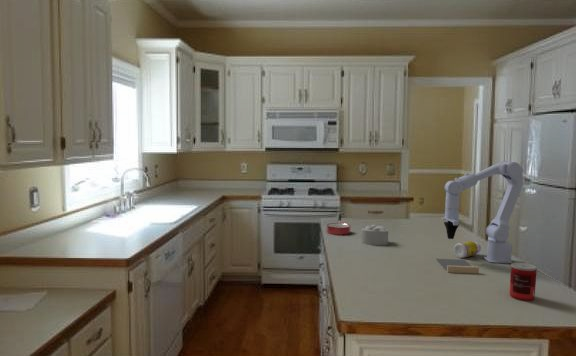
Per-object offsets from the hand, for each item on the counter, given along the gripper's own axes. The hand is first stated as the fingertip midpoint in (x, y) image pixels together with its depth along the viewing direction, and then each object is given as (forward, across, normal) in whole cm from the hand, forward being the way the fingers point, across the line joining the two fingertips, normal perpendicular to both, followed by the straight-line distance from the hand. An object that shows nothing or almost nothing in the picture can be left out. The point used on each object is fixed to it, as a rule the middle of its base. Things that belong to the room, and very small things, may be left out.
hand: (450, 238), depth 199 cm
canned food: (+10, +46, +12) cm, 48 cm away
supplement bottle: (+6, -3, +5) cm, 8 cm away
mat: (+9, +10, 0) cm, 14 cm away
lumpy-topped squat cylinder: (+10, -27, -30) cm, 42 cm away
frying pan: (+10, -59, -48) cm, 77 cm away
